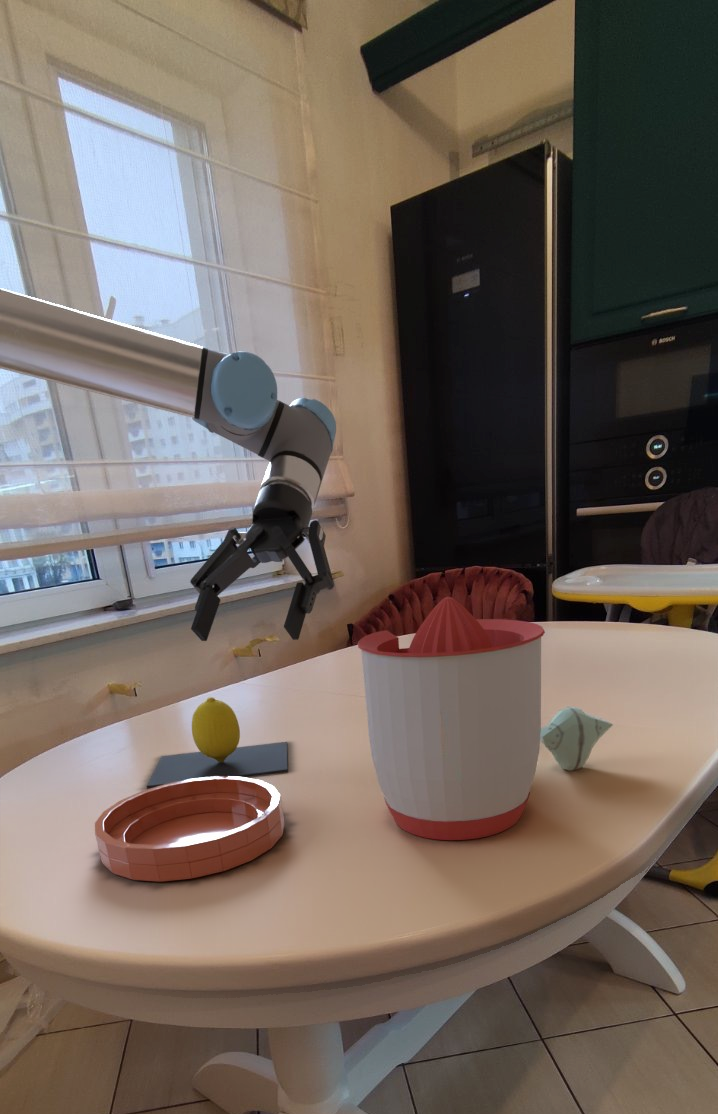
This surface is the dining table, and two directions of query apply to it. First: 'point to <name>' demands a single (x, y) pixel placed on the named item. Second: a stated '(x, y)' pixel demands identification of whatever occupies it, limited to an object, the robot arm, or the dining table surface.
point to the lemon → (215, 729)
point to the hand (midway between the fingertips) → (243, 634)
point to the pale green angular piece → (572, 736)
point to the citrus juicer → (455, 721)
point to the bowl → (190, 828)
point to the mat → (222, 764)
